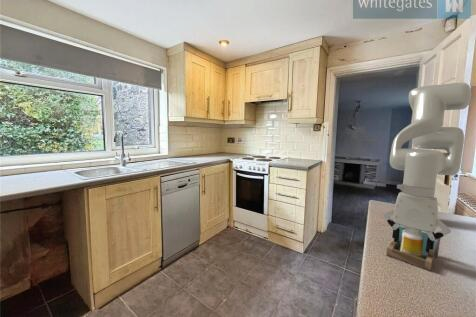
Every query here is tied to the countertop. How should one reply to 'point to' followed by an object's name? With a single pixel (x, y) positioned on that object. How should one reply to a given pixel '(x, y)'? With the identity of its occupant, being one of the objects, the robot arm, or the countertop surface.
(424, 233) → the gate
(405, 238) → the supplement bottle
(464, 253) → the countertop surface
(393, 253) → the bay
